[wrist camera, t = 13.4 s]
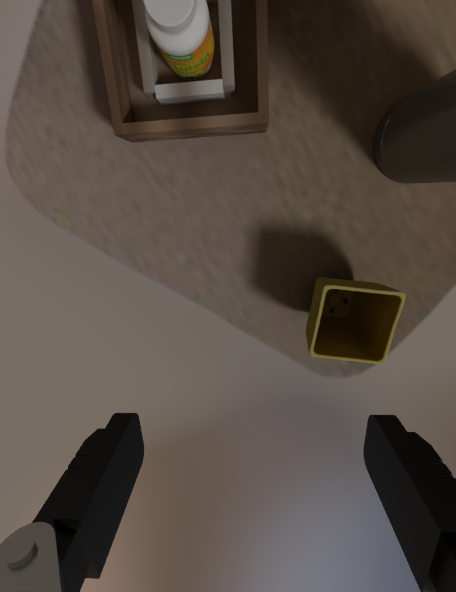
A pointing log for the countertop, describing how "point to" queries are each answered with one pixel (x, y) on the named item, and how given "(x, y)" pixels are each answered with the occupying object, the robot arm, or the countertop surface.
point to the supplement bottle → (182, 35)
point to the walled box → (175, 90)
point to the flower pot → (352, 320)
